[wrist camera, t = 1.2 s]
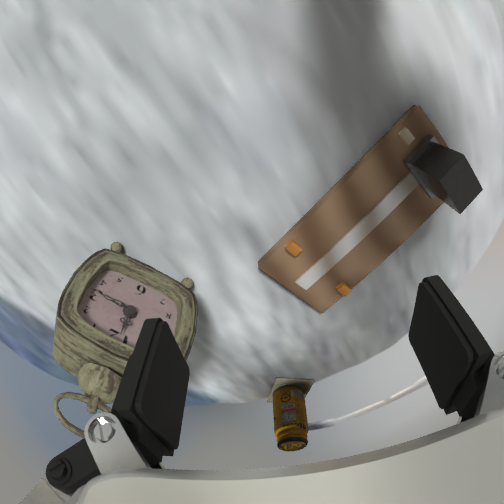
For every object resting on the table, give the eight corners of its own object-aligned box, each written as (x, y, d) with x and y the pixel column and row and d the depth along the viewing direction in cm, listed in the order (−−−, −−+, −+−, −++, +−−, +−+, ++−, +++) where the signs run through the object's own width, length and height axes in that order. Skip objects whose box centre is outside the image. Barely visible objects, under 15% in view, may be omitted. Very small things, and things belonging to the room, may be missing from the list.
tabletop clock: (206, 276, 41) (175, 455, 19) (180, 318, 45) (146, 475, 23) (110, 227, 37) (5, 376, 16) (94, 276, 41) (15, 416, 19)
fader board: (413, 105, 29) (423, 107, 27) (460, 173, 33) (470, 179, 31) (258, 261, 40) (258, 271, 38) (320, 306, 44) (322, 317, 42)
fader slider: (428, 134, 29) (464, 147, 23) (452, 169, 31) (486, 189, 25) (402, 161, 31) (433, 180, 25) (427, 196, 33) (458, 220, 27)
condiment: (266, 401, 56) (269, 453, 46) (276, 377, 52) (280, 434, 42) (301, 402, 57) (308, 453, 46) (314, 378, 53) (323, 434, 42)
